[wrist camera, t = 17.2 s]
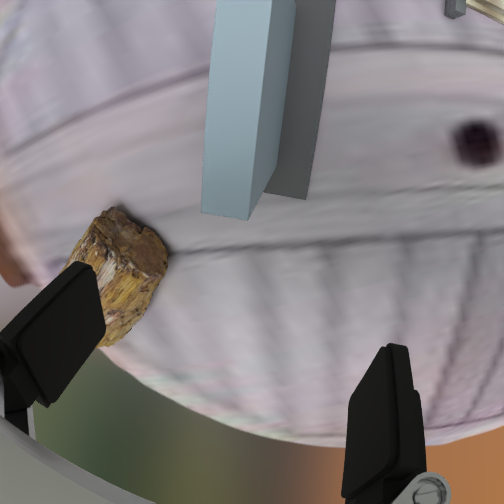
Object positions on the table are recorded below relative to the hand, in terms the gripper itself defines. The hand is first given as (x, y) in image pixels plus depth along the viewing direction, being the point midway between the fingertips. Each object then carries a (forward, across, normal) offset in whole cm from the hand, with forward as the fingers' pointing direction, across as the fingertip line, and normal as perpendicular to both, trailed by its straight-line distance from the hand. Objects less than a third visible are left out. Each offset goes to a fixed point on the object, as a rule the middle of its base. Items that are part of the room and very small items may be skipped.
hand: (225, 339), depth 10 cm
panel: (+24, +4, -6) cm, 25 cm away
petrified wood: (+24, +21, +19) cm, 37 cm away
